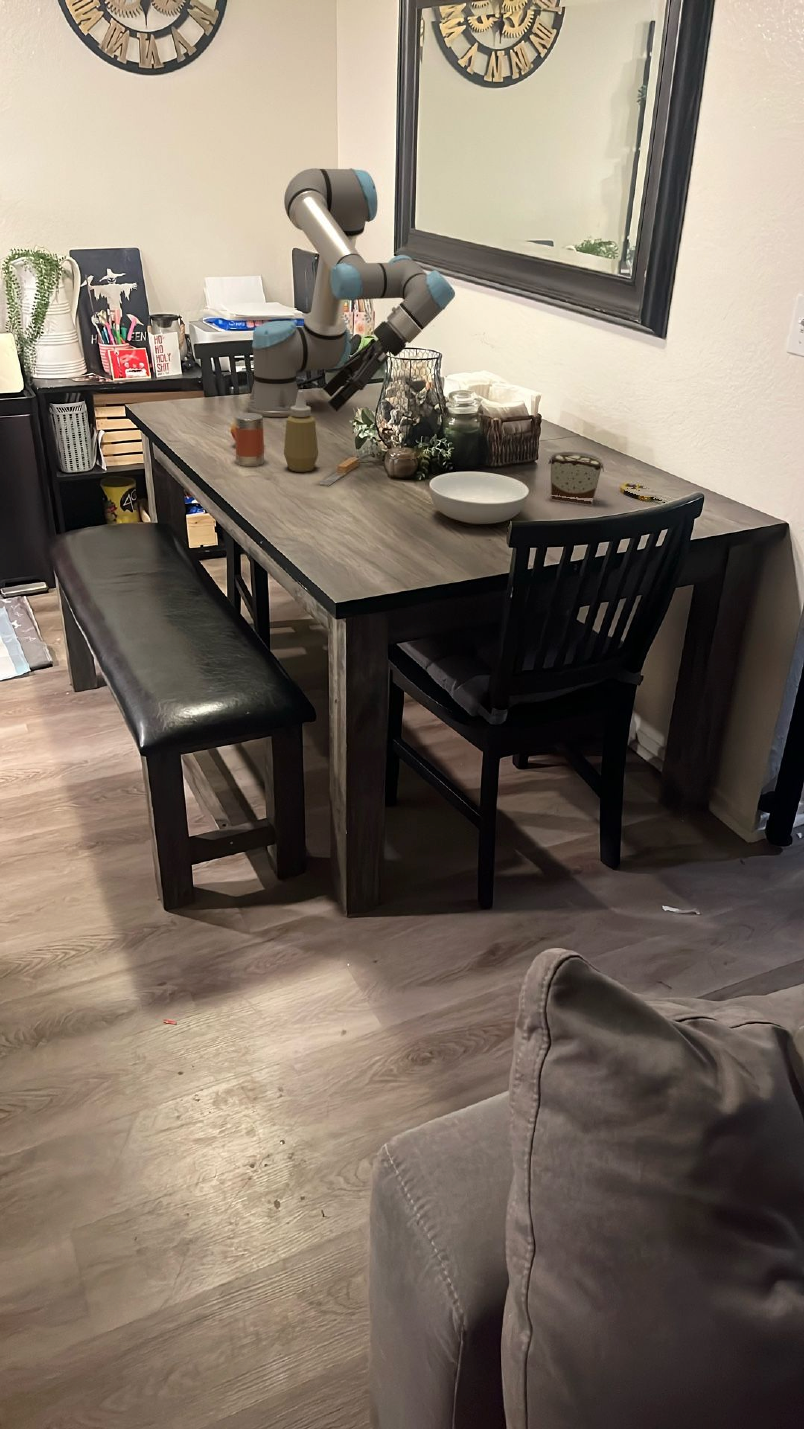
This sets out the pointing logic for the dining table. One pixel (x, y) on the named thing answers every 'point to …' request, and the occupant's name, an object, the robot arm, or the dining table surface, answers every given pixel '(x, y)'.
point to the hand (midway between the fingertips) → (329, 399)
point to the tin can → (249, 439)
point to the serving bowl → (478, 496)
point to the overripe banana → (635, 494)
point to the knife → (341, 471)
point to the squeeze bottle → (301, 437)
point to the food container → (574, 476)
